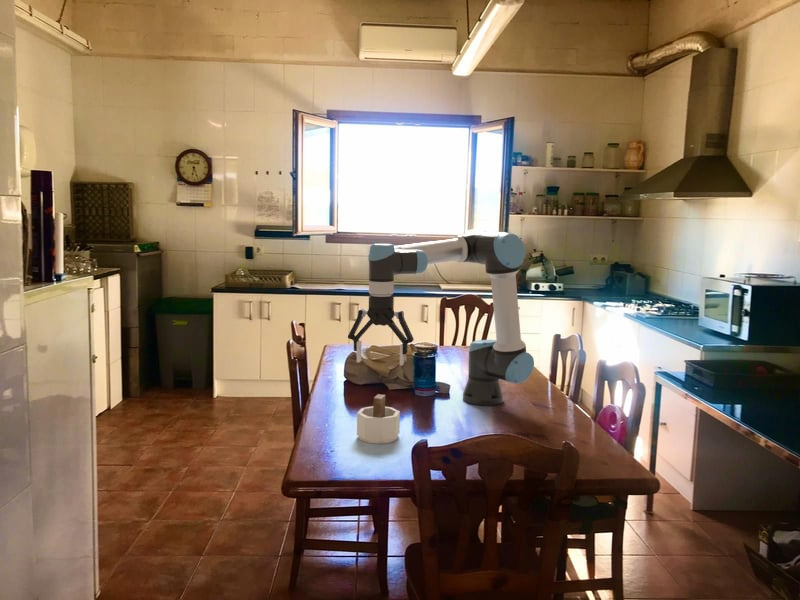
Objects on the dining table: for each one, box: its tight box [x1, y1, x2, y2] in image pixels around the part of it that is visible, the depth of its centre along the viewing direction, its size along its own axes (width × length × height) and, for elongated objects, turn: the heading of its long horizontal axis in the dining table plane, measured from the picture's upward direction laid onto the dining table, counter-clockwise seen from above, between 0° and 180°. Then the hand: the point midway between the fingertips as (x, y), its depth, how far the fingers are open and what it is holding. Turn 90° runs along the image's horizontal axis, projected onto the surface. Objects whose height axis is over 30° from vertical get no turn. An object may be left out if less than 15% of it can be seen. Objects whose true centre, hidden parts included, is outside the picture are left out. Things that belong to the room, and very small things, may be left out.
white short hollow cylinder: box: [356, 405, 401, 445], centre depth 203 cm, size 12×12×8 cm
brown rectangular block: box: [372, 393, 386, 418], centre depth 202 cm, size 2×4×12 cm, turn 165°
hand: (380, 363), depth 200 cm, fingers open, 13 cm apart
